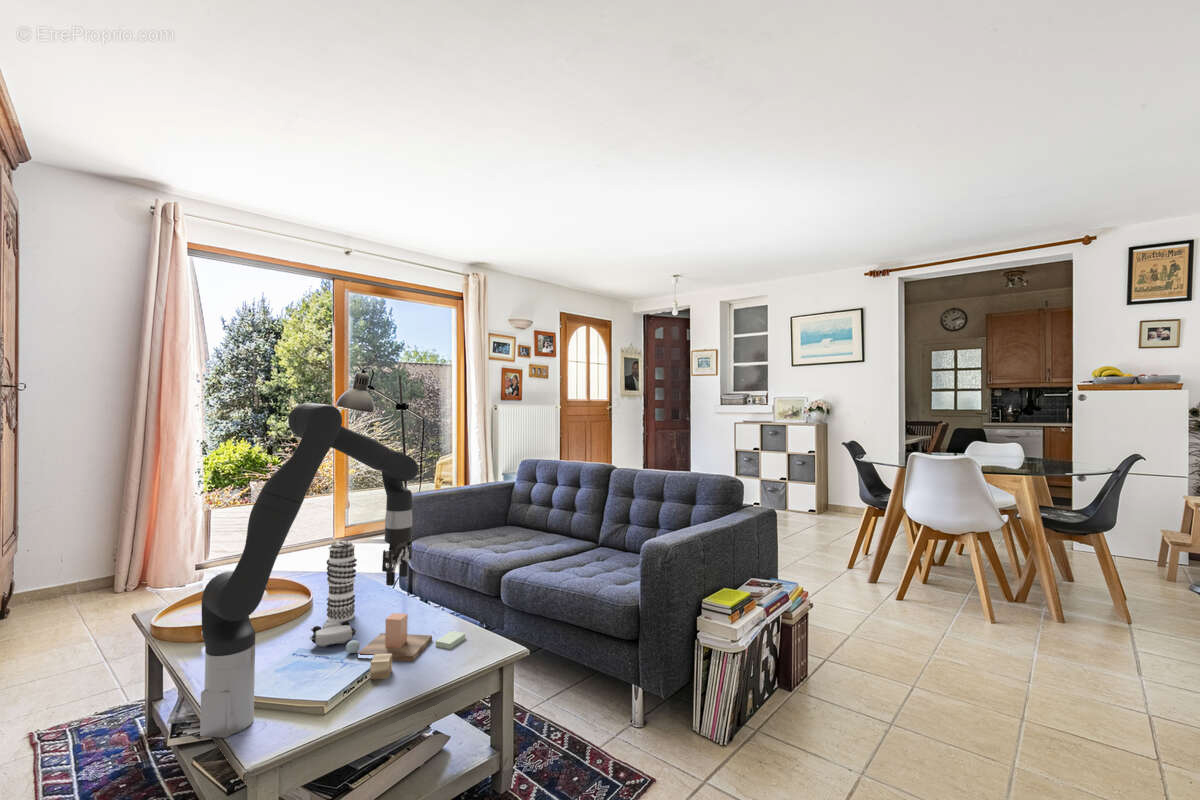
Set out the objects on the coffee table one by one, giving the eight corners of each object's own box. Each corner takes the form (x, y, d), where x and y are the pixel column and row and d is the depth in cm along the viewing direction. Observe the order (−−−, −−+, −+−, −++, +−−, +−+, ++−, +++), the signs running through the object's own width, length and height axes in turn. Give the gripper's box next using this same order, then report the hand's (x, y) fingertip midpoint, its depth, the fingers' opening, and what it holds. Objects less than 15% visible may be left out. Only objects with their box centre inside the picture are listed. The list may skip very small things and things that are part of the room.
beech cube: (388, 678, 144) (388, 661, 145) (370, 679, 144) (370, 662, 144) (391, 670, 149) (392, 653, 149) (374, 671, 148) (374, 654, 148)
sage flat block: (449, 650, 162) (450, 643, 162) (435, 647, 164) (435, 641, 164) (465, 639, 170) (465, 633, 170) (451, 637, 171) (451, 630, 171)
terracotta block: (400, 647, 159) (400, 619, 159) (385, 646, 159) (385, 619, 160) (407, 641, 164) (407, 613, 164) (392, 640, 164) (392, 613, 164)
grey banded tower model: (345, 623, 180) (346, 546, 180) (319, 621, 181) (320, 545, 181) (361, 613, 189) (362, 539, 189) (336, 611, 190) (338, 538, 190)
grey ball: (355, 656, 156) (355, 643, 157) (343, 655, 157) (343, 643, 157) (362, 650, 160) (362, 638, 160) (350, 650, 160) (350, 637, 160)
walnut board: (412, 661, 154) (412, 656, 154) (357, 658, 155) (357, 653, 155) (431, 640, 168) (432, 635, 168) (381, 637, 169) (381, 632, 169)
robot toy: (308, 638, 171) (310, 653, 158) (308, 623, 171) (311, 637, 158) (352, 630, 177) (357, 644, 164) (352, 616, 177) (357, 628, 164)
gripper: (400, 530, 155) (398, 589, 154) (420, 520, 169) (419, 574, 169) (374, 529, 155) (372, 587, 155) (397, 519, 170) (395, 573, 169)
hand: (397, 580), depth 162 cm, fingers open, 8 cm apart
